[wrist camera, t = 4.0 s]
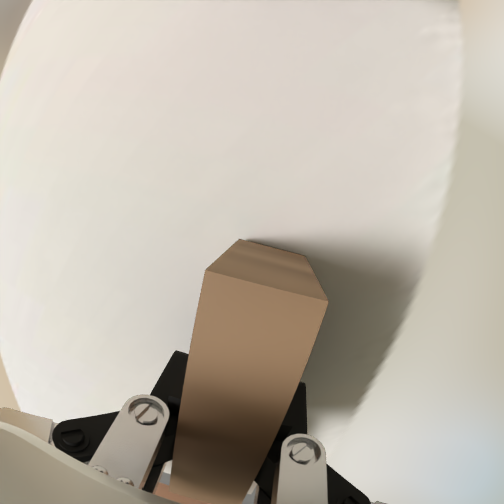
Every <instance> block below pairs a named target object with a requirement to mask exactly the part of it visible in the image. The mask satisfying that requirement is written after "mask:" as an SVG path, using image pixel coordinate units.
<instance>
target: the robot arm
mask: <svg viewBox="0 0 504 504" xmlns="http://www.w3.org/2000/svg"><path fill="white" fill-rule="evenodd" d="M188 356H189V354H186V353H183V352H180V351H177V350H176V351H175V352H174V353H173V355H172V357H171V359H170V360H169V362H168V364H167V366H166V367H165V369H164V371H163V373H162V374H161V376H160V378H159V380H158V381H157V383H156V385H155V387H154V388H153V390H152V392H151V394H150V395H136V396H133V397H131V398H130V399H128V400H127V401H126V403H125V404H124V406H123V407H122V409H121V411H118V412H113V413H107V414H102V415H97V416H91V417H85V418H78V419H71V420H66V421H62V422H61V423H54V422H53V420H52V419H48V418H43V417H39V416H35V415H31V414H28V413H24V412H20V411H17V410H14V409H10V408H0V504H182V503H179V502H175V501H172V500H169V499H166V498H163V497H160V496H157V495H155V492H156V490H157V487H158V485H159V482H160V479H161V477H162V474H163V472H164V469H165V466H166V463H167V462H168V461H171V460H173V452H174V445H175V437H176V430H177V424H178V417H179V410H180V404H181V398H182V392H183V385H184V379H185V374H186V368H187V362H188ZM254 481H255V482H256V483H257V486H256V491H255V497H254V504H386V503H382V502H379V501H376V502H375V503H373V502H370V501H369V499H368V497H367V496H366V495H365V494H363V493H362V492H361V491H360V490H358V489H357V488H356V487H354V486H353V485H352V484H351V483H349V482H348V481H347V480H346V479H344V478H343V477H342V476H341V475H339V474H338V473H337V472H336V471H334V470H333V469H332V468H331V467H330V466H329V465H328V464H326V452H325V448H324V446H323V445H322V443H321V442H320V441H319V440H317V439H316V438H314V437H312V436H310V435H307V409H306V386H305V383H302V382H299V384H298V387H297V389H296V391H295V394H294V396H293V399H292V401H291V403H290V406H289V408H288V410H287V413H286V415H285V417H284V419H283V422H282V424H281V426H280V428H279V430H278V433H277V435H276V437H275V439H274V441H273V443H272V445H271V447H270V450H269V452H268V454H267V456H266V458H265V460H264V462H263V464H262V466H261V468H260V470H259V472H258V474H257V476H256V478H255V479H254Z"/></svg>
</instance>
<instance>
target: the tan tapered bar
mask: <svg viewBox="0 0 504 504" xmlns="http://www.w3.org/2000/svg"><path fill="white" fill-rule="evenodd" d="M328 302H329V301H328V299H327V297H326V295H325V293H324V291H323V289H322V287H321V285H320V283H319V281H318V280H317V278H316V276H315V274H314V272H313V270H312V268H311V266H310V264H309V262H308V260H307V259H306V257H305V256H303V255H300V254H296V253H292V252H288V251H284V250H280V249H276V248H273V247H269V246H265V245H261V244H257V243H253V242H249V241H245V240H241V239H239V240H238V241H237V242H235V243H234V244H233V245H232V246H231V247H230V248H229V249H228V250H227V251H226V252H224V253H223V254H222V255H221V256H220V257H219V258H218V259H217V260H216V261H215V262H213V263H212V264H211V265H210V266H209V267H208V268H207V269H206V270H205V274H204V279H203V284H202V289H201V293H200V298H199V303H198V308H197V314H196V319H195V324H194V329H193V334H192V340H191V345H190V351H189V356H188V362H187V368H186V374H185V379H184V385H183V392H182V398H181V404H180V410H179V417H178V424H177V430H176V437H175V445H174V452H173V460H171V461H168V462H167V463H166V466H165V469H164V472H165V473H168V474H171V475H170V484H169V492H172V493H175V494H179V495H182V496H185V497H189V498H192V499H196V500H199V501H203V502H207V503H211V504H242V502H243V500H244V498H245V496H246V494H252V492H253V490H254V488H255V487H256V485H257V483H256V482H255V481H254V479H255V478H256V476H257V474H258V472H259V470H260V468H261V466H262V464H263V462H264V460H265V458H266V456H267V454H268V452H269V450H270V447H271V445H272V443H273V441H274V439H275V437H276V435H277V433H278V430H279V428H280V426H281V424H282V422H283V419H284V417H285V415H286V413H287V410H288V408H289V406H290V403H291V401H292V399H293V396H294V394H295V391H296V389H297V387H298V384H299V382H300V379H301V377H302V374H303V372H304V369H305V366H306V364H307V361H308V359H309V356H310V353H311V351H312V348H313V345H314V343H315V340H316V337H317V334H318V332H319V329H320V326H321V323H322V320H323V317H324V314H325V311H326V308H327V305H328Z"/></svg>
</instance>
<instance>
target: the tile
mask: <svg viewBox="0 0 504 504" xmlns="http://www.w3.org/2000/svg"><path fill="white" fill-rule="evenodd" d="M155 495H157V496H160V497H163V498H166V499H169V500H172V501H175V502H179V503H182V504H211V503H207V502H203V501H199V500H196V499H192V498H189V497H185V496H182V495H179V494H175V493H172V492H169V485H166V484H163V483H160V482H159V485H158V487H157V490H156V492H155Z"/></svg>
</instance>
